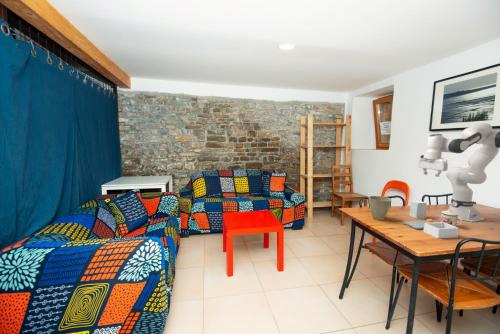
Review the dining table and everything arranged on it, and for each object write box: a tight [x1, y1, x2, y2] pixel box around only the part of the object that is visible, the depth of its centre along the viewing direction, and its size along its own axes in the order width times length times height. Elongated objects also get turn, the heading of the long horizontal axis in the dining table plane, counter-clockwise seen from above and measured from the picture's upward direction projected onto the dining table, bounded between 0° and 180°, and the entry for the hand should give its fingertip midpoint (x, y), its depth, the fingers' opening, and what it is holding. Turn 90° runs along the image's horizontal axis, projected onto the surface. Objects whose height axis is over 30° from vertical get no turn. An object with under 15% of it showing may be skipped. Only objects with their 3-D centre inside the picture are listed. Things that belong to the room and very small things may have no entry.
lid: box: [403, 218, 434, 230], centre depth 158 cm, size 17×11×5 cm, turn 97°
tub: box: [423, 221, 460, 239], centre depth 144 cm, size 14×10×6 cm
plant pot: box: [368, 195, 392, 221], centre depth 171 cm, size 15×15×16 cm
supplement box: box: [409, 200, 428, 220], centre depth 176 cm, size 7×7×13 cm
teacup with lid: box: [440, 208, 463, 227], centre depth 158 cm, size 12×9×12 cm
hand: (431, 175), depth 165 cm, fingers open, 8 cm apart
